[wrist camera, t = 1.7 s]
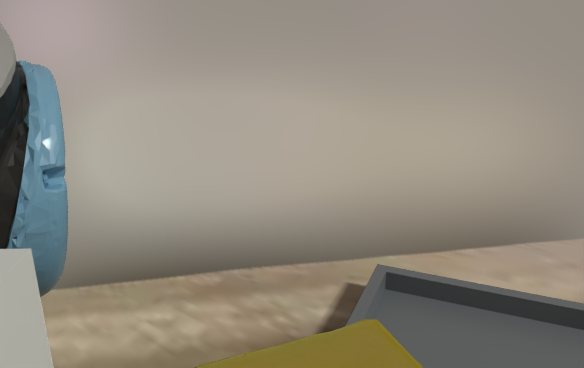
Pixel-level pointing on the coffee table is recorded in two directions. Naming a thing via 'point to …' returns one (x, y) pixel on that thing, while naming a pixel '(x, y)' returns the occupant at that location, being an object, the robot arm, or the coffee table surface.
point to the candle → (330, 351)
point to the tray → (472, 322)
